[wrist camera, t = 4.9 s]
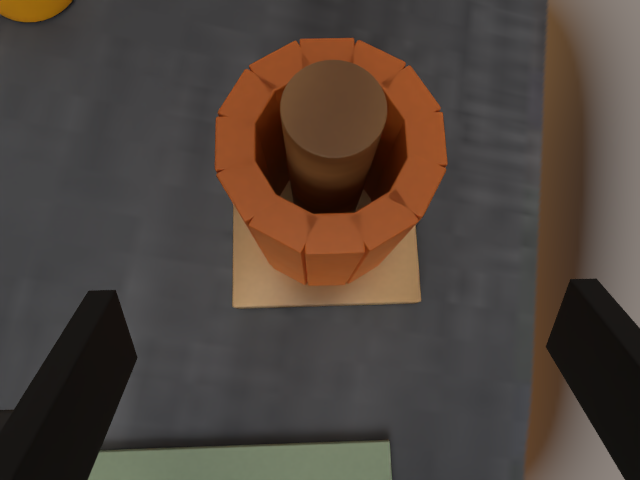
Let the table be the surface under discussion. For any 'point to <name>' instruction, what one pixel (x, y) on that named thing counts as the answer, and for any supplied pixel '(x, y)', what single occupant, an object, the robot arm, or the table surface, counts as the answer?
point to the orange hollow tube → (381, 184)
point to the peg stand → (327, 189)
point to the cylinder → (32, 9)
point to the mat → (249, 462)
